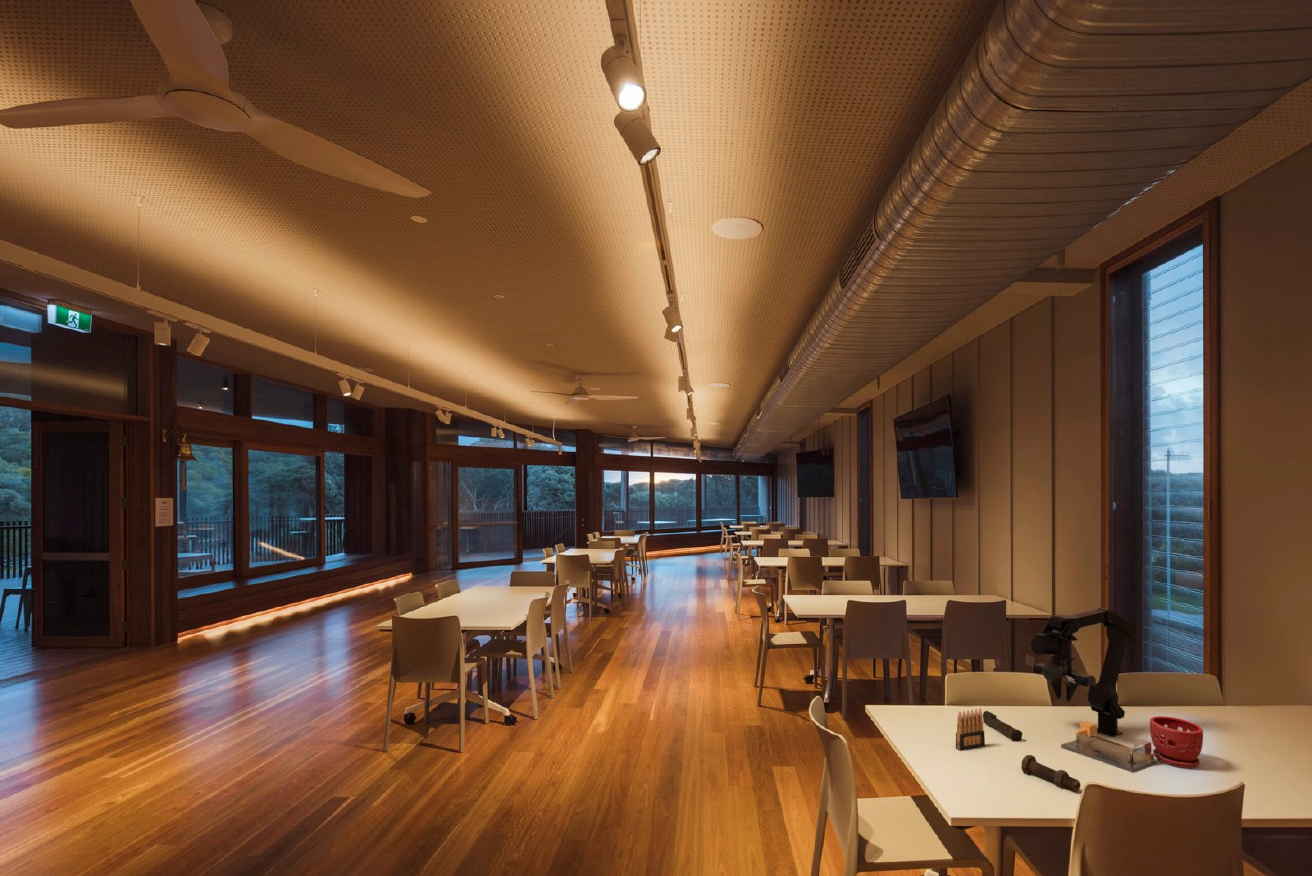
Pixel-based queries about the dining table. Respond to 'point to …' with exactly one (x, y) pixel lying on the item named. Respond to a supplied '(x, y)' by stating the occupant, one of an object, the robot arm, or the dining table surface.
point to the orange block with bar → (1086, 730)
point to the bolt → (1049, 773)
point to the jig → (1114, 752)
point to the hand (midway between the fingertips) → (1063, 700)
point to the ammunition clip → (970, 730)
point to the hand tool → (1001, 726)
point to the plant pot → (1176, 741)
